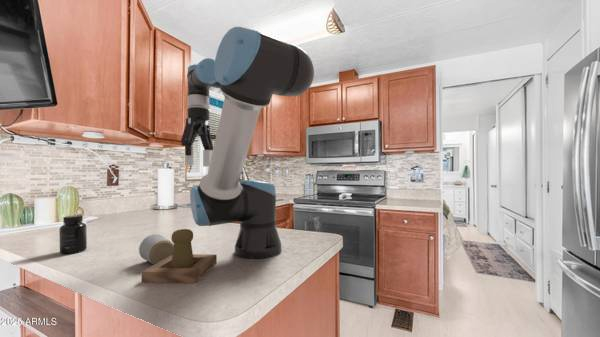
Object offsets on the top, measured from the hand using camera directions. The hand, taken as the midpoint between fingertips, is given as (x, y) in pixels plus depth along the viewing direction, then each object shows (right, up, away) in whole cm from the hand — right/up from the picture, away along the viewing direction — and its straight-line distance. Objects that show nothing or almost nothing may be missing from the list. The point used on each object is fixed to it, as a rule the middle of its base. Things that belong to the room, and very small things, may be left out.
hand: (198, 166), depth 93 cm
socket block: (+7, -28, -27) cm, 40 cm away
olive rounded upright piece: (+7, -28, -27) cm, 40 cm away
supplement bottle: (-39, -29, -8) cm, 50 cm away
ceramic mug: (-3, -29, -18) cm, 34 cm away
